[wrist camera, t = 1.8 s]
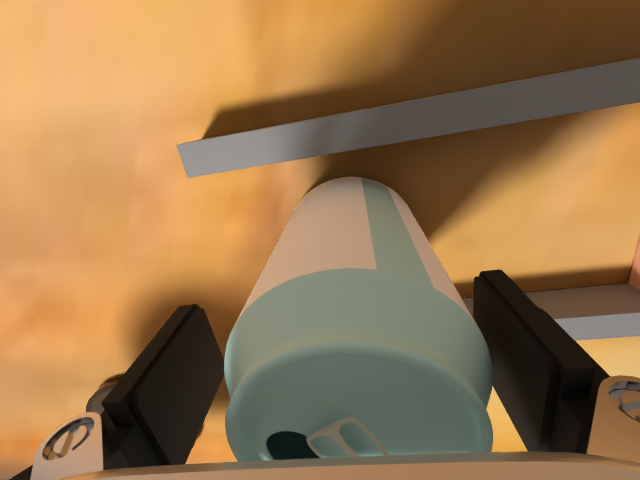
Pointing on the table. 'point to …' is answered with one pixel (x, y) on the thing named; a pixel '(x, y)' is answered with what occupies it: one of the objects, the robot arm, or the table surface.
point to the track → (446, 118)
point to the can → (355, 340)
